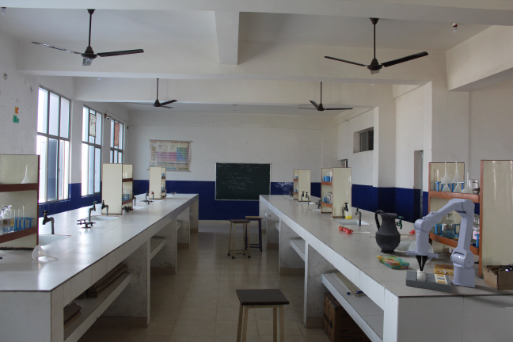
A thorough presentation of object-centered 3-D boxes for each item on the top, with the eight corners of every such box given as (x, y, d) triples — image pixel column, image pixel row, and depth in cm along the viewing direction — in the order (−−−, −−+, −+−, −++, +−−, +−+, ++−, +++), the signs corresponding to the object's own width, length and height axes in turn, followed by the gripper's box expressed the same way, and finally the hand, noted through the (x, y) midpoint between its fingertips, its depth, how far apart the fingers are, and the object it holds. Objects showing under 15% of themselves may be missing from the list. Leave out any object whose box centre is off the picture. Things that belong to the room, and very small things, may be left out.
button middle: (425, 278, 184) (425, 270, 184) (425, 280, 180) (425, 272, 180) (416, 277, 185) (417, 269, 186) (416, 279, 182) (417, 271, 182)
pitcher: (388, 255, 245) (389, 212, 246) (366, 249, 264) (367, 209, 264) (405, 253, 254) (406, 212, 254) (382, 248, 272) (383, 209, 272)
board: (448, 281, 186) (448, 274, 187) (451, 292, 168) (451, 284, 168) (406, 275, 195) (407, 269, 195) (405, 285, 177) (405, 278, 177)
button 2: (425, 281, 178) (425, 273, 178) (425, 283, 174) (425, 275, 174) (416, 280, 180) (417, 272, 180) (416, 282, 176) (417, 274, 176)
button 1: (425, 277, 190) (425, 270, 190) (425, 279, 186) (425, 271, 186) (416, 276, 191) (417, 269, 191) (416, 278, 188) (417, 270, 188)
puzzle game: (390, 261, 209) (376, 254, 229) (390, 269, 209) (376, 261, 229) (409, 261, 210) (393, 254, 230) (409, 269, 210) (393, 261, 230)
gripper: (406, 243, 177) (405, 270, 176) (438, 246, 171) (438, 274, 170) (406, 241, 183) (405, 267, 183) (438, 244, 177) (437, 271, 177)
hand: (421, 270), depth 177 cm, fingers closed
